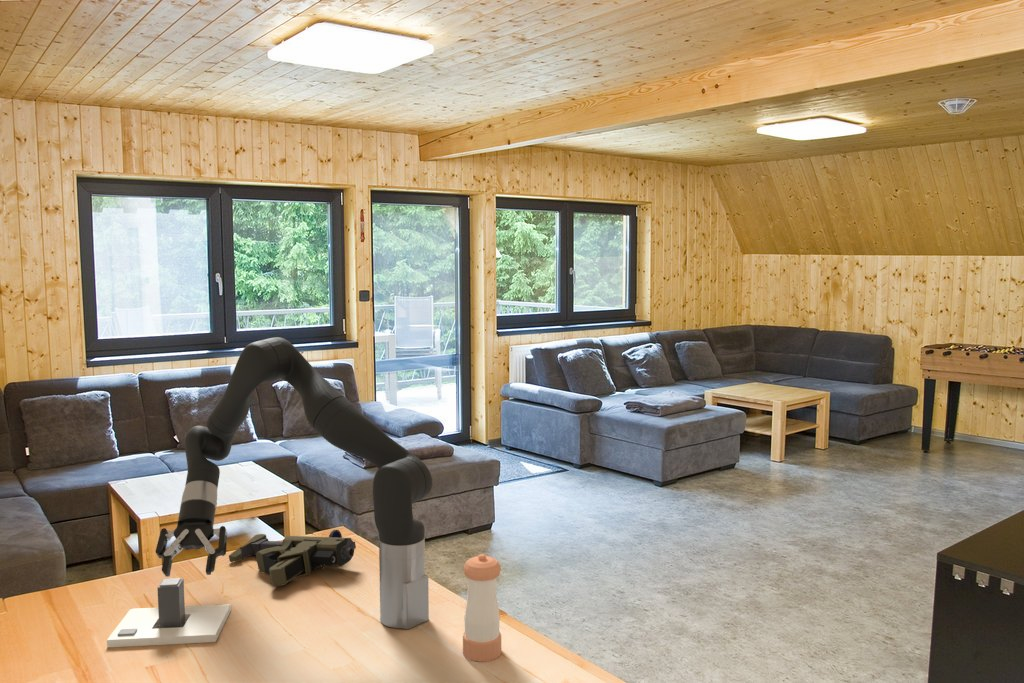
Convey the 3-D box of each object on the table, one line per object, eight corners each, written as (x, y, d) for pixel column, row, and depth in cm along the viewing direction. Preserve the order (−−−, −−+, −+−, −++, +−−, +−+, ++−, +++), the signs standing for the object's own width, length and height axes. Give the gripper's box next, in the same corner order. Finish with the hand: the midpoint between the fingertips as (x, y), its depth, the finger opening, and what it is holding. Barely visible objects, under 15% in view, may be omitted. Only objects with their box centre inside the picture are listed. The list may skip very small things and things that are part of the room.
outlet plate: (230, 610, 177) (230, 602, 177) (215, 642, 163) (215, 632, 163) (131, 615, 174) (130, 606, 174) (107, 647, 161) (106, 638, 160)
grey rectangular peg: (185, 623, 171) (183, 577, 170) (180, 632, 167) (178, 584, 166) (164, 624, 170) (162, 578, 169) (159, 633, 166) (157, 586, 165)
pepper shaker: (476, 640, 164) (476, 545, 162) (508, 649, 160) (508, 552, 158) (455, 655, 158) (454, 557, 156) (488, 665, 154) (488, 564, 152)
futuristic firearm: (309, 568, 182) (370, 525, 205) (198, 562, 194) (268, 523, 217) (314, 600, 183) (375, 554, 206) (203, 592, 195) (272, 549, 218)
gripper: (161, 499, 186) (148, 568, 176) (228, 496, 187) (218, 565, 177) (169, 514, 192) (157, 583, 182) (234, 512, 193) (225, 579, 183)
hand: (187, 574), depth 180 cm, fingers open, 8 cm apart
